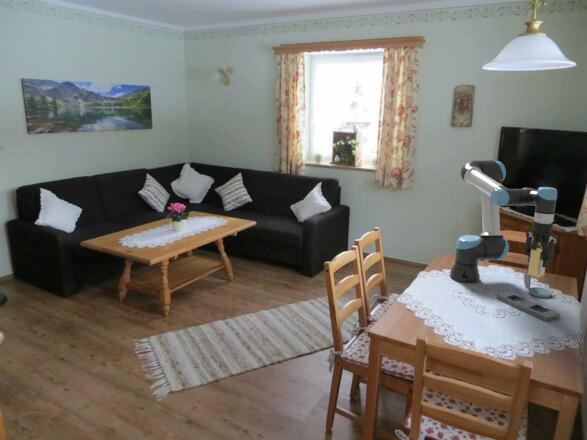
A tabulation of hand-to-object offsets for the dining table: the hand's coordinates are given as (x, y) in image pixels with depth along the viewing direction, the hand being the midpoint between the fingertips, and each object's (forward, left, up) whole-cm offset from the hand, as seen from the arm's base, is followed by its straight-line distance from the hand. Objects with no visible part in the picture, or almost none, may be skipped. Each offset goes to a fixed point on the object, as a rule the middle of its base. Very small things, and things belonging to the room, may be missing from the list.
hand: (536, 271), depth 195 cm
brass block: (0, 0, -2) cm, 2 cm away
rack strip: (-1, -2, -18) cm, 18 cm away
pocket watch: (-8, +18, -18) cm, 27 cm away
